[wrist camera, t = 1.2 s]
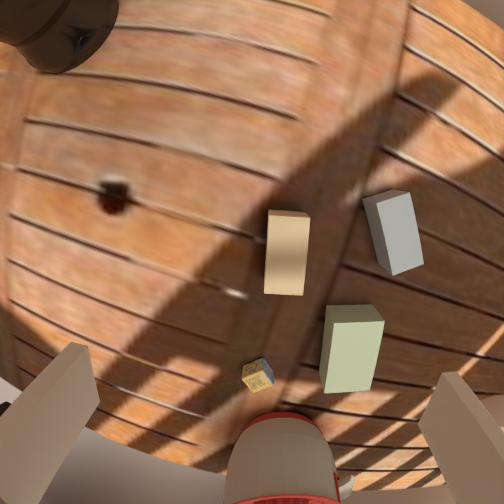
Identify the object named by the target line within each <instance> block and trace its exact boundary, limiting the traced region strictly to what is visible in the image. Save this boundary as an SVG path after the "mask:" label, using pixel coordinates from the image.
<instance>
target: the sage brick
mask: <svg viewBox="0 0 504 504" xmlns="http://www.w3.org/2000/svg"><path fill="white" fill-rule="evenodd" d="M384 322H385V321H384V320H383V318H382V317H381V316H380V314H379V313H378V311H377V310H376V309H375V307H374V306H373V305H372V304H367V305H326V316H325V325H324V334H323V343H322V351H321V359H320V367H319V374H320V378H321V382H322V387H323V391H324V393H338V392H352V391H364V390H370V386H371V382H372V378H373V374H374V370H375V366H376V361H377V357H378V352H379V347H380V343H381V338H382V332H383V327H384Z"/></svg>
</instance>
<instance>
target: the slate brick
mask: <svg viewBox="0 0 504 504" xmlns="http://www.w3.org/2000/svg"><path fill="white" fill-rule="evenodd" d="M362 200H363V204H364V208H365V211H366V215H367V219H368V223H369V227H370V231H371V235H372V239H373V243H374V248H375V252H376V256H377V261H378V263H379V264H380V265H381V266H382V267H383V268H384V269H386V270H387V271H388V272H389V273H390V274H391V275H396V274H398V273H401V272H404V271H406V270H409V269H412V268H414V267H417V266H419V265H422V264H424V262H423V256H422V250H421V244H420V239H419V233H418V228H417V223H416V218H415V214H414V209H413V205H412V200H411V196H410V193H409V192H403V191H398V190H389V191H386V192H383V193H380V194H376V195H373V196H370V197H367V198H364V199H362Z"/></svg>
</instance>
